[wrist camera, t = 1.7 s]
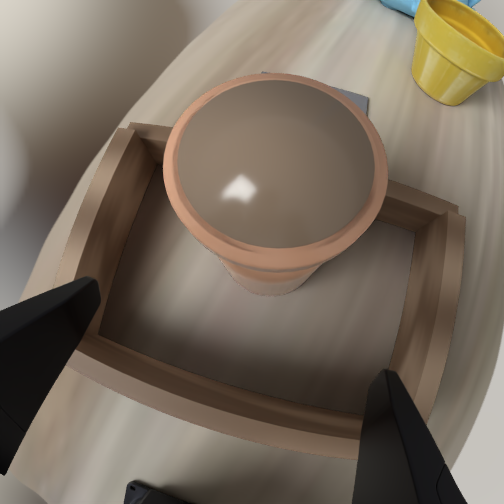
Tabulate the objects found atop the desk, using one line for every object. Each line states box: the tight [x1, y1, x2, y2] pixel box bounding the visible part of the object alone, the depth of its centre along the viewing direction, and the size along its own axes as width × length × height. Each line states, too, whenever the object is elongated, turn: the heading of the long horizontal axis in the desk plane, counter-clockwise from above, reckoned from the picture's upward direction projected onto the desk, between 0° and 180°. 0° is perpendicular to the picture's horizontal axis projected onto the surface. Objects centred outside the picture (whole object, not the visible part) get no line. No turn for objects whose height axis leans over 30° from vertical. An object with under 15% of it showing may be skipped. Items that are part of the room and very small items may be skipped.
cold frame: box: [53, 122, 466, 460], centre depth 18 cm, size 16×24×6 cm
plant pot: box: [412, 0, 504, 106], centre depth 20 cm, size 10×10×10 cm
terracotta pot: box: [163, 73, 388, 296], centre depth 15 cm, size 7×7×13 cm
